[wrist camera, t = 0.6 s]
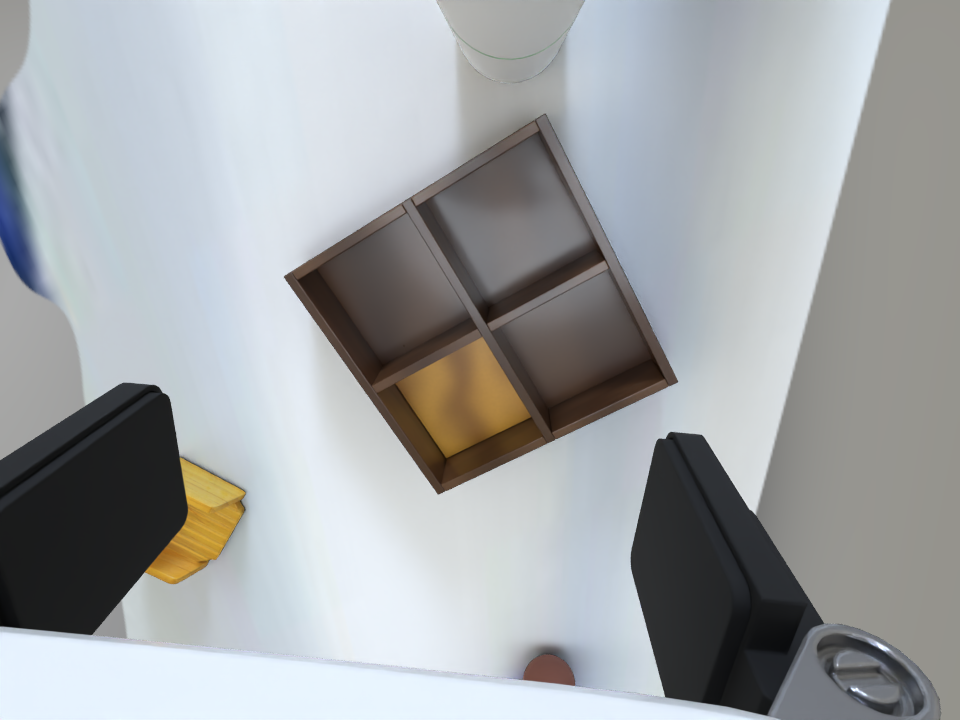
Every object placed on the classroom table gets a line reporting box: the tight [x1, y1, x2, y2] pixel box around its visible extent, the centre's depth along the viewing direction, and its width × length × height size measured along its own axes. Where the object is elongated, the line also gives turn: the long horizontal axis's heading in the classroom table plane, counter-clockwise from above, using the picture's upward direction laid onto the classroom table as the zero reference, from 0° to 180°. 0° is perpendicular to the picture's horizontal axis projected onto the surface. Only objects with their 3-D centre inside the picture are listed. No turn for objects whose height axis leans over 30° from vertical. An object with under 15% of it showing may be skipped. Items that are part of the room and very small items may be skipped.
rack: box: [284, 114, 678, 494], centre depth 40 cm, size 20×20×5 cm
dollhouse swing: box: [145, 458, 246, 584], centre depth 46 cm, size 10×10×9 cm
